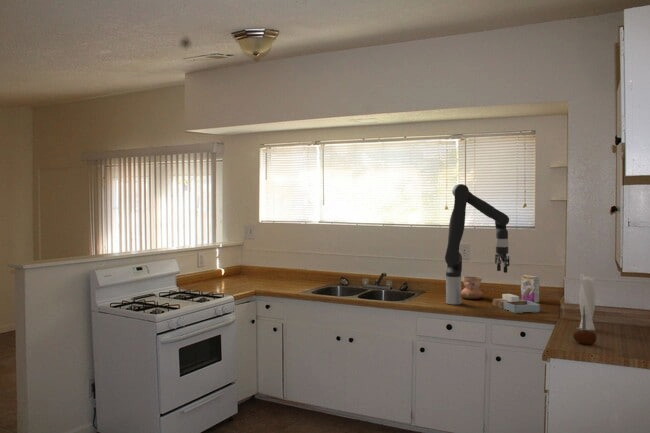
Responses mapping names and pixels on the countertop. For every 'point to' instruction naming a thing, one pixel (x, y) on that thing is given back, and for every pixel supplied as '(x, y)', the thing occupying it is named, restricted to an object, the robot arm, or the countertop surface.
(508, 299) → the tile
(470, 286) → the ceramic jug
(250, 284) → the countertop surface
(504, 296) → the tile
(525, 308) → the tray
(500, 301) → the board
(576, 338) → the potato
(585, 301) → the white statue
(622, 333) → the countertop surface
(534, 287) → the candy bar box
